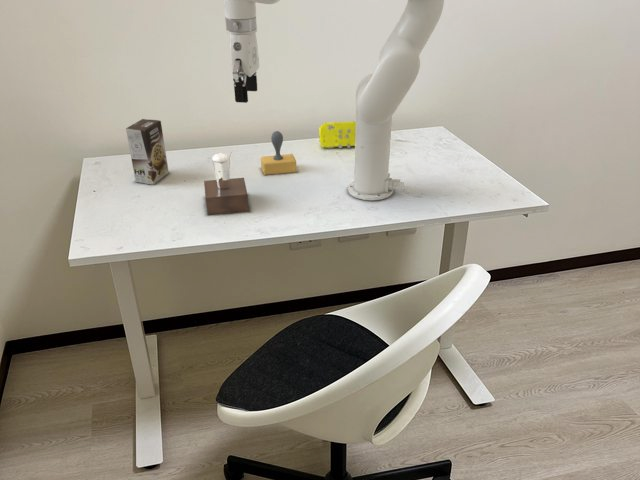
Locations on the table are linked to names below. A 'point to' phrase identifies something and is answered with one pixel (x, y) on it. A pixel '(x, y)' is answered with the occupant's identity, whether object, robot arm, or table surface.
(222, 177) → the milkshake
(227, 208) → the brown square block
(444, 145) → the table surface
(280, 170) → the rubber stamp
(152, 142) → the coffee box
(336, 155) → the table surface
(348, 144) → the yellow toy chassis
